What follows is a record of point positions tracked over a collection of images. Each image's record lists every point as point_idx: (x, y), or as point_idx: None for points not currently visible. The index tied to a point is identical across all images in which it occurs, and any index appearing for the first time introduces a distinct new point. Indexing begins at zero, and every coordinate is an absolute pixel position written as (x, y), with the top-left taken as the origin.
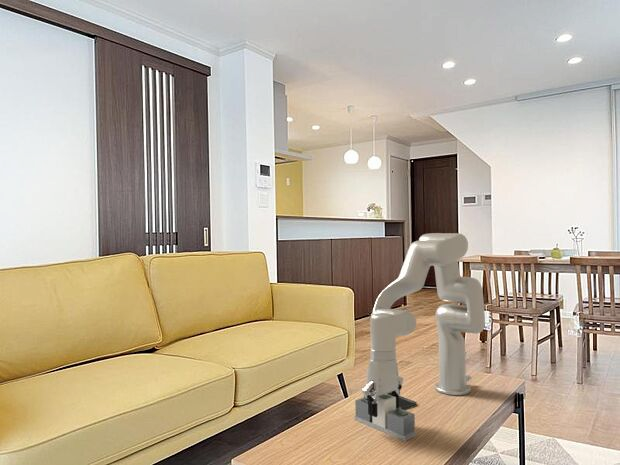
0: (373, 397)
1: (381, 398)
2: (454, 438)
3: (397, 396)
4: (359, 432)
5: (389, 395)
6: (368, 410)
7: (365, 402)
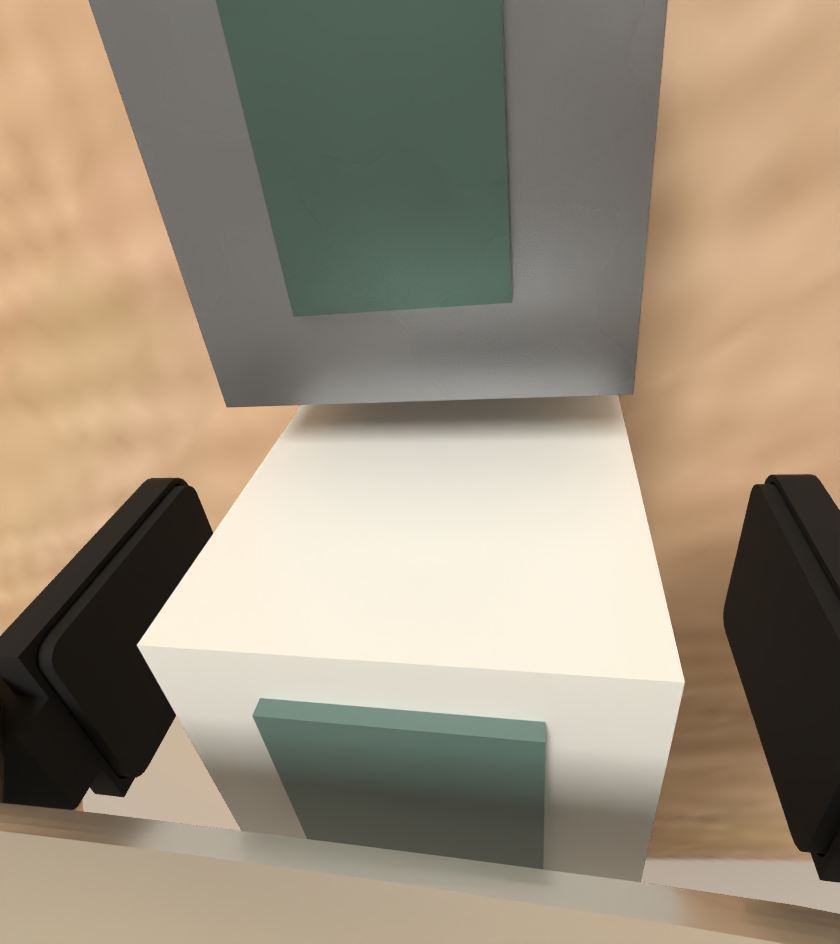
0: (163, 672)
1: (291, 812)
2: (756, 828)
3: (815, 859)
4: (141, 328)
5: (614, 843)
6: (120, 518)
7: (239, 177)
